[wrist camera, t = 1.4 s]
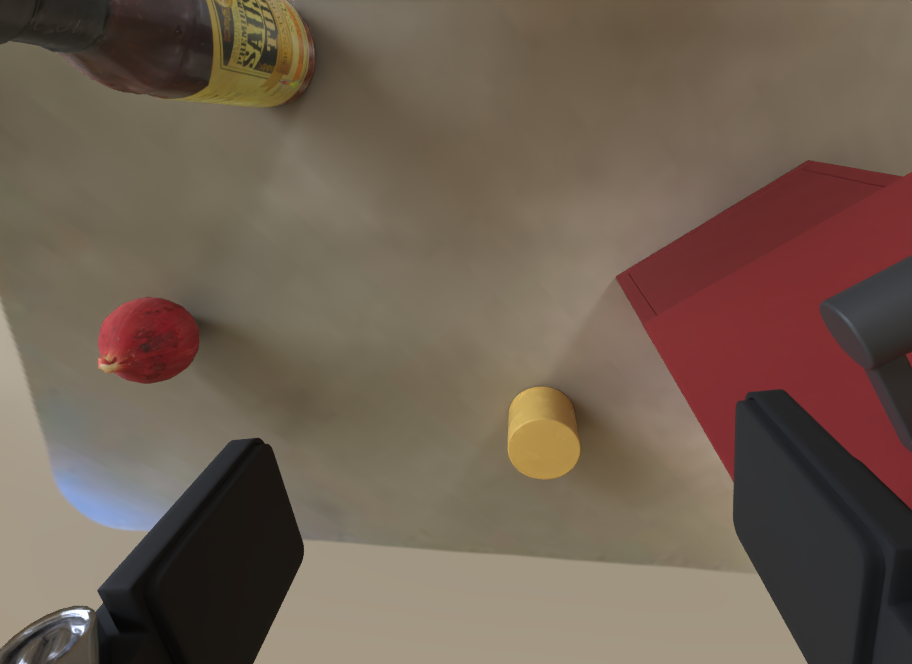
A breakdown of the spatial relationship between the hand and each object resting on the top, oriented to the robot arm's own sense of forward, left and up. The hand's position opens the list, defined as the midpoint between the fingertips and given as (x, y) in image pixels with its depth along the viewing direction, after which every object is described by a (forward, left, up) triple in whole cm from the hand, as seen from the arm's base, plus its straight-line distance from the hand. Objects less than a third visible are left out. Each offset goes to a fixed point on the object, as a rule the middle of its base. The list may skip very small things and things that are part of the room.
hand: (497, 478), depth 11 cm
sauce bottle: (+6, -17, -26) cm, 32 cm away
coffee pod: (+6, +13, -26) cm, 29 cm away
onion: (+24, -8, -26) cm, 36 cm away
